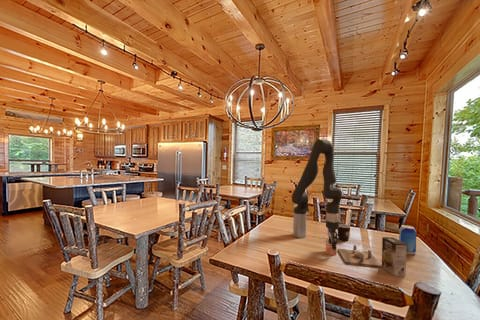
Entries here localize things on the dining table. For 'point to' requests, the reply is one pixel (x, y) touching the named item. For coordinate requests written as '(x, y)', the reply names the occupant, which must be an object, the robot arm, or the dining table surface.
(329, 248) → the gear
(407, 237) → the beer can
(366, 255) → the carrier
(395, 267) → the coffee box
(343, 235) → the coffee mug
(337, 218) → the robot arm
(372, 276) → the dining table surface
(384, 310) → the dining table surface
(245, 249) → the dining table surface
